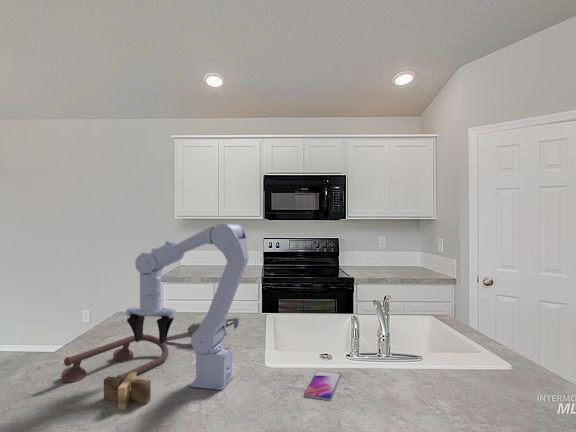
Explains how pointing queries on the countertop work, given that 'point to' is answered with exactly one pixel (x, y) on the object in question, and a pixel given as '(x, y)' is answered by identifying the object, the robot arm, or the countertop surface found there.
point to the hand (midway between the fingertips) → (150, 341)
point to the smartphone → (323, 385)
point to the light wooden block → (125, 390)
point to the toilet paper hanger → (120, 355)
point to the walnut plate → (136, 394)
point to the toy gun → (195, 327)
